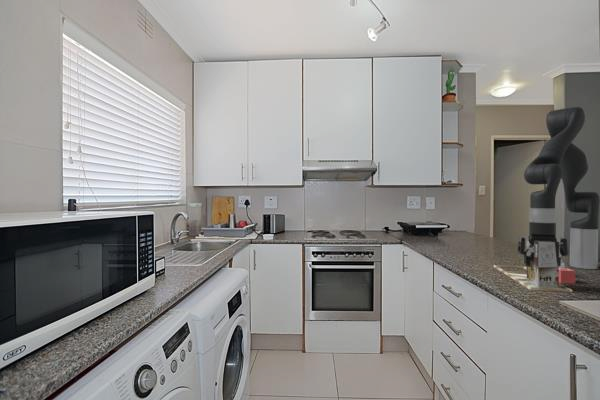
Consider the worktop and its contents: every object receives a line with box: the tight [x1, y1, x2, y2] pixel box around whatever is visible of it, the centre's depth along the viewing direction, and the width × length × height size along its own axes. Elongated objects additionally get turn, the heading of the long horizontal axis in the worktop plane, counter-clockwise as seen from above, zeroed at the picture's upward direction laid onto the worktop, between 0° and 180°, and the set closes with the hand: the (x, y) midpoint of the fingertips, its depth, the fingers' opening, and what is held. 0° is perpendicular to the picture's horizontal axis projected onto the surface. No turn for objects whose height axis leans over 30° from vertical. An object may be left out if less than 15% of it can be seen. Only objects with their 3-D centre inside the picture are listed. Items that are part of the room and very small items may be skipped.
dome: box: [559, 259, 566, 268], centre depth 129 cm, size 8×8×5 cm
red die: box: [559, 267, 577, 284], centre depth 118 cm, size 4×4×5 cm
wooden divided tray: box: [493, 264, 573, 293], centre depth 124 cm, size 35×12×1 cm, turn 166°
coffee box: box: [526, 240, 560, 289], centre depth 113 cm, size 9×6×16 cm
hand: (541, 266), depth 112 cm, fingers open, 8 cm apart
